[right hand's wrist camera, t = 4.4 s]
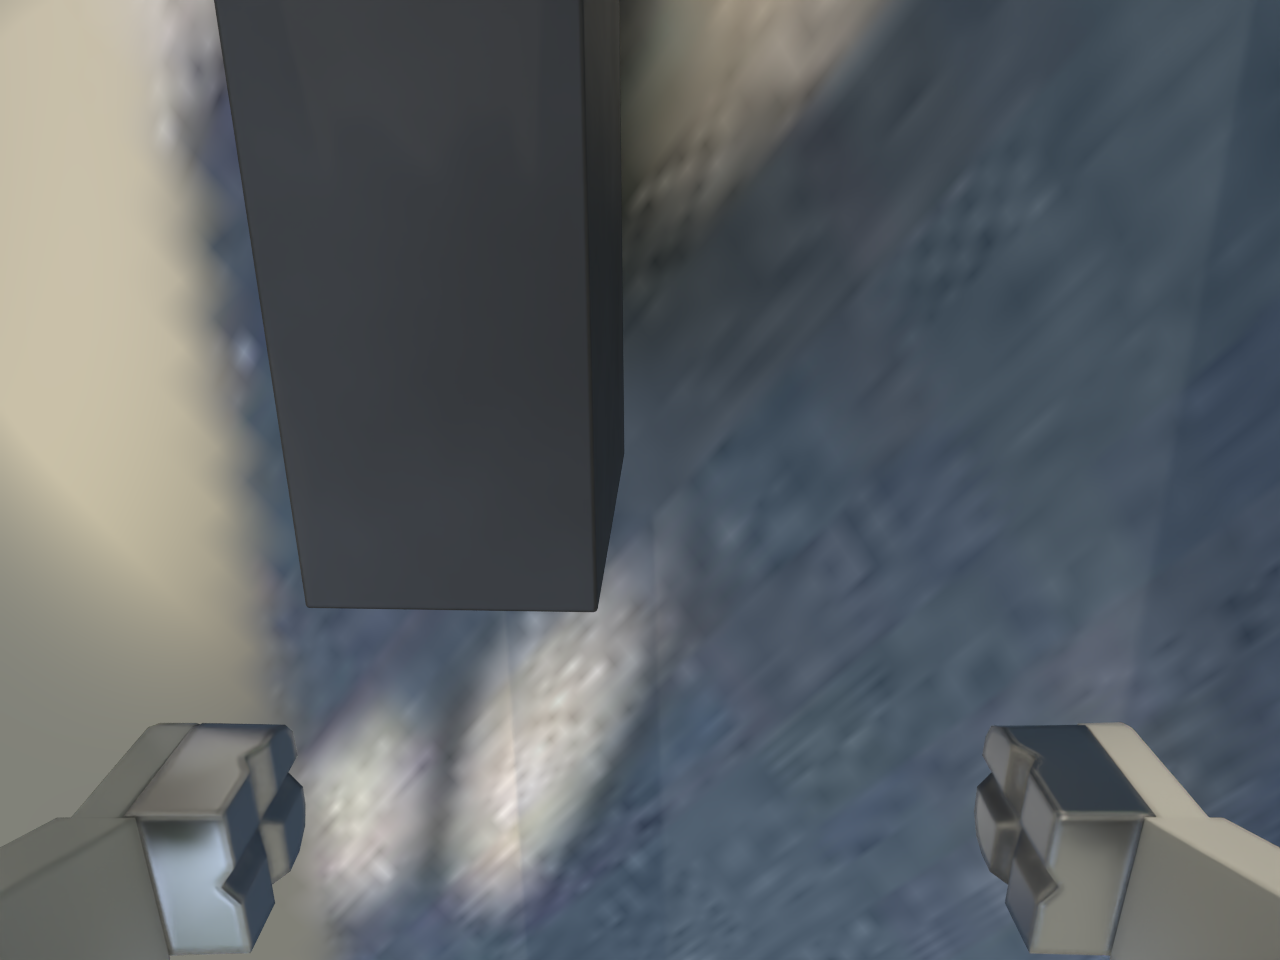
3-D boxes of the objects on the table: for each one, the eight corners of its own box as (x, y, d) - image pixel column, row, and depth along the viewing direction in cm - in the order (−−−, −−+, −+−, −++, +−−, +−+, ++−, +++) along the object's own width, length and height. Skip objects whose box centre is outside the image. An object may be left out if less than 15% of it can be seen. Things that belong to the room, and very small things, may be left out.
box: (624, 454, 28) (597, 613, 18) (430, 453, 28) (304, 609, 19) (613, -515, 20) (556, -1120, 10) (343, -507, 20) (44, -1092, 11)
